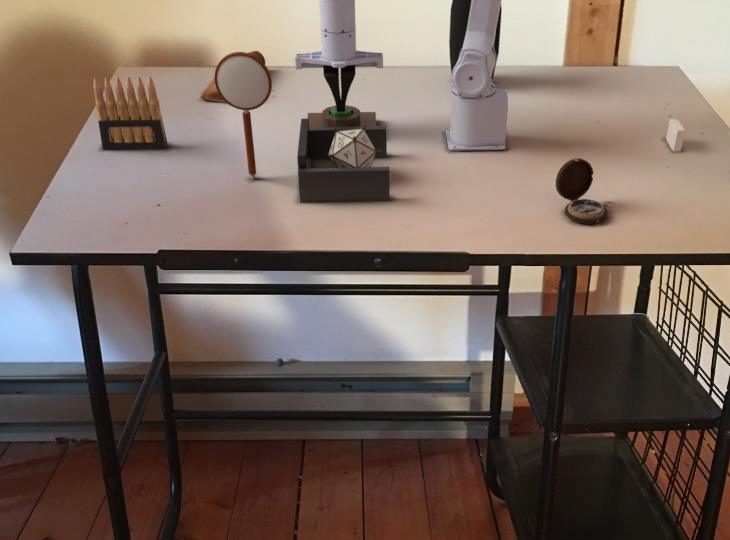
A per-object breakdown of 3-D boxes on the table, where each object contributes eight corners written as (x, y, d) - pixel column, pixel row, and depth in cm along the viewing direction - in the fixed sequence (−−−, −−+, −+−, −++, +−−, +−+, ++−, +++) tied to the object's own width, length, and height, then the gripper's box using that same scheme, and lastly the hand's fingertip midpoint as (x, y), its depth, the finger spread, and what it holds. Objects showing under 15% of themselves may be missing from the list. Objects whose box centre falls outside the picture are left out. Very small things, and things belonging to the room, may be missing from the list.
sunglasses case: (224, 64, 187) (238, 36, 183) (255, 84, 189) (269, 56, 185) (198, 98, 173) (212, 69, 169) (231, 119, 175) (246, 90, 171)
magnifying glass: (225, 180, 148) (209, 53, 136) (228, 175, 150) (212, 49, 137) (278, 183, 147) (267, 55, 135) (280, 178, 149) (270, 51, 136)
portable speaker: (502, 88, 178) (510, -20, 166) (456, 93, 176) (460, -16, 164) (487, 73, 184) (494, -33, 172) (442, 77, 182) (445, -29, 170)
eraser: (673, 151, 156) (677, 130, 153) (665, 139, 159) (669, 118, 157) (680, 151, 156) (685, 130, 153) (672, 139, 159) (677, 118, 157)
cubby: (386, 154, 155) (386, 114, 151) (389, 200, 142) (389, 157, 138) (304, 156, 155) (301, 115, 151) (299, 202, 142) (296, 159, 138)
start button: (351, 116, 163) (351, 104, 162) (351, 124, 160) (351, 113, 159) (331, 116, 163) (330, 105, 161) (330, 125, 160) (330, 113, 159)
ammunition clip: (167, 144, 159) (156, 74, 151) (166, 149, 158) (154, 78, 150) (104, 145, 159) (90, 75, 151) (102, 150, 157) (87, 79, 150)
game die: (360, 202, 150) (367, 172, 140) (313, 178, 150) (316, 147, 140) (384, 158, 153) (392, 126, 143) (337, 135, 153) (343, 101, 143)
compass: (579, 229, 135) (586, 182, 131) (550, 205, 141) (556, 160, 136) (625, 218, 138) (633, 172, 133) (595, 195, 143) (602, 150, 139)
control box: (375, 120, 166) (375, 101, 164) (376, 141, 159) (376, 122, 157) (308, 122, 166) (307, 102, 164) (306, 143, 159) (305, 123, 157)
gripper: (292, 36, 148) (297, 119, 157) (383, 35, 149) (383, 117, 157) (294, 22, 154) (299, 103, 162) (382, 21, 154) (382, 101, 163)
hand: (340, 109), depth 160 cm, fingers closed, pressing on start button
